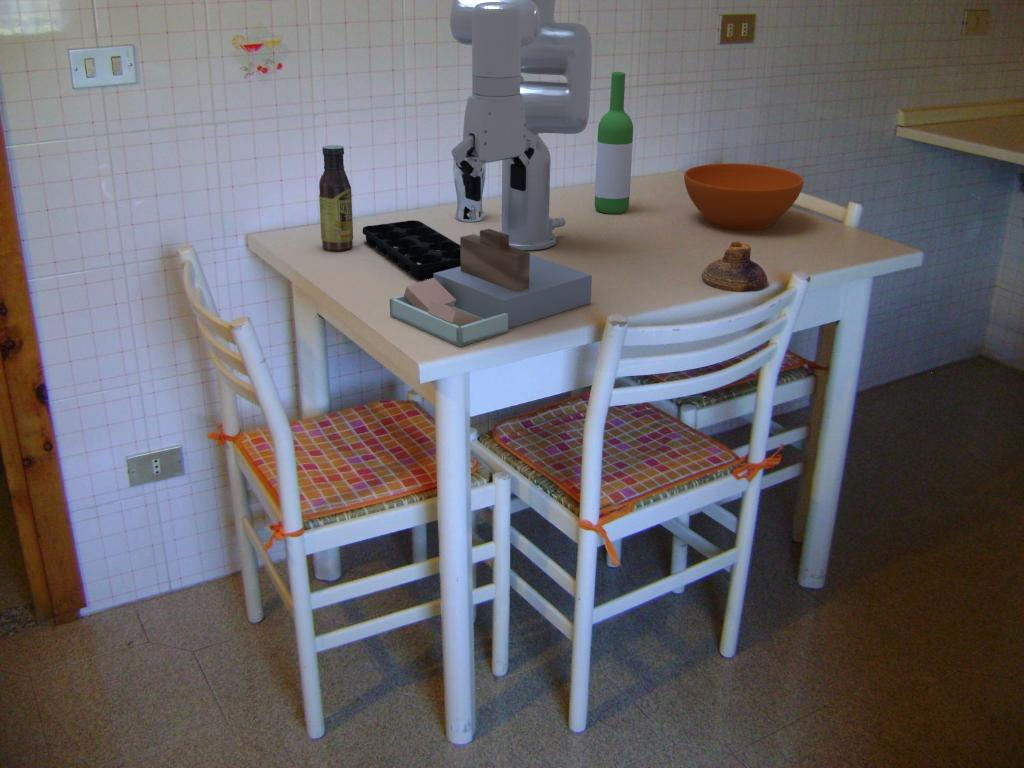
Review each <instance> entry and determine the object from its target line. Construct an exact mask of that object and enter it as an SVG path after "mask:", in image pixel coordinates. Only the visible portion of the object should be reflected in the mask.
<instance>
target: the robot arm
mask: <svg viewBox="0 0 1024 768" xmlns="http://www.w3.org/2000/svg"><path fill="white" fill-rule="evenodd" d="M555 5H556V0H452V4H451V7H450V14H449V26H450V31H451V35H452V37H453V38H454V39H455V41H457V42H458V44H461V45H465V46H471V72H472V73H471V78H472V81H471V83H472V84H471V85H472V89H471V90H472V93H471V94H472V95H469V96H467V101H466V105H465V110H464V118H463V131H462V132H463V133H462V141H461V142H459V143H458V144H457V145H456V146H455V147H454V148H453V149H452V150H451V155H452V158H453V159H454V160H455V161H456V166H457V167H458V168H459V169H460V170H461V173H462V174H465V197H466V198H467V199H470V200H473V201H476V202H477V201H480V200H481V177H480V176H477V175H478V173H479V172H480V170H481V168H482V166H483V165H484V163H486V164H489V163H494V162H499V161H502V162H501V164H502V165H501V166H502V167H501V171H502V172H501V230H500V231H499V232H501V233H504V234H507V235H509V246H511V247H514V248H517V249H520V250H523V251H536V250H544V249H548V248H550V247H553V246H554V245H556V243H557V236H556V234H554V233H553V231H554V230H555V229H556V228H557V229H558V228H562V227H565V225H566V219H565V217H563V216H560V217H557V218H554V219H553V218H552V217H550V191H551V190H550V187H551V167H552V166H551V165H552V163H551V162H552V161H551V153H550V151H549V149H548V147H547V145H546V143H545V142H544V140H543V139H542V138H541V137H540V135H539V134H558V135H559V134H564V135H575V134H580V133H582V132H583V131H585V129H586V127H588V121H589V117H590V107H591V106H590V104H591V103H590V102H591V100H590V99H591V84H592V62H593V58H592V57H593V43H592V37H591V33H590V30H589V29H588V28H587V27H586V26H584V24H583V25H582V24H580V23H576V22H575V23H574V22H556V20H555V11H556V10H555V8H556V7H555ZM522 74H527V75H529V74H530V75H548V76H549V75H550V76H563V77H565V79H567V82H559V81H558V82H557V81H543V80H542V81H540V80H535V81H534V80H524V77H523V75H522ZM465 158H467V160H465ZM474 162H475V164H474ZM473 164H474V166H473V167H472V165H473Z"/></svg>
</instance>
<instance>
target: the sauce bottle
mask: <svg viewBox="0 0 1024 768" xmlns="http://www.w3.org/2000/svg"><path fill="white" fill-rule="evenodd" d="M344 154H345V149H344V146H343V145H339V144H330V145H324V146H322V155H323V165H324V166H323V169H324V171H323V173H322V174H321V176H320V178H319V181H318V182H319V184H318V189H319V190H318V191H319V195H318V196H319V197H318V200H319V218H320V221H319V223H320V238H321V240H322V242H321V244H322V247H323V249H324V250H327V251H333V252H334V251H335V252H339V251H346V250H348V249H349V250H350V249H351V248H352V247H353V243H354V242H353V240H354V225H353V224H354V223H353V220H354V219H353V201H352V200H353V199H352V198H353V197H352V196H353V195H352V187H351V184H350V181H349V179H348V175H347V173H346V171H345V165H344Z"/></svg>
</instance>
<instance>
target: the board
mask: <svg viewBox="0 0 1024 768" xmlns="http://www.w3.org/2000/svg"><path fill="white" fill-rule="evenodd" d="M434 278H435V279H436V280H437V281H438V282H439V283H440V284H441V285H442V286H443V287H444V288H445V289H446V290H447V291H448V292H449V293H450V294H451V295H452V296H453V297H454V298H455V299H456V302H455V305H454V307H456V308H459V309H461V310H463V311H466V312H468V313H471V314H473V315H476V316H478V317H480V318H483V319H487V318H490V317H493V316H497V315H500V314H503V313H507V314H508V330H510V329H511V328H515V327H518V326H521V325H524V324H527V323H531V322H534V321H537V320H540V319H543V318H546V317H549V316H553V315H557V314H559V313H562V312H567V311H570V310H573V309H576V308H578V307H581V306H585V305H588V304H591V303H592V302H591V301H592V284H593V283H592V281H593V280H592V279H593V275H592V274H590V273H587V272H585V271H580V270H578V269H575V268H573V267H569V266H566V265H564V264H563V265H562V264H560V263H557V262H554V261H551V260H548V259H545V258H542V257H539V256H536V255H533V254H530V270H529V288H527V289H524V290H520V291H517V292H515V291H512V290H509V289H507V288H504V287H501V286H499V285H496V284H493V283H491V282H488V281H485V280H483V279H480V278H477V277H475V276H472V275H469V274H467V273H464V272H462V271H461V266H460V267H456V268H452V269H448V270H444V271H440V272H436V273H434Z"/></svg>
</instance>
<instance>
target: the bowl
mask: <svg viewBox="0 0 1024 768" xmlns="http://www.w3.org/2000/svg"><path fill="white" fill-rule="evenodd" d="M683 180H684V184H685V185H684V186H685V189H686V192H687V194H688V196H689V198H690V200H691V201H692V203H693V205H694V206H695V207H696V208H697V210H698V212H699V213H701V215H702V216H703V217H704V218H705V219H706V221H707V222H708V223H709V224H711V225H713V226H716V227H719V228H724V229H729V230H736V231H737V230H738V231H752V230H763V229H766V228H769V227H770V226H772V225H773V223H775V222H776V221H777V220H778V219H779V218H781V217H782V216H783V215H784V214H785V213H786V212H787V211H789V209H791V207H792V206H793V205H794V204H795V202H796V201H797V200H798V198H799V196H800V194H801V192H802V189H803V186H804V182H805V181H804V179H803V177H802V176H801V175H800V174H798V173H796V172H794V171H791V170H787V169H784V168H780V167H779V168H778V167H774V166H769V165H768V166H767V165H760V164H752V163H710V164H702V165H697V166H694V167H691V168H688V169H687V170H686V171H685V172H684V177H683Z"/></svg>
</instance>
